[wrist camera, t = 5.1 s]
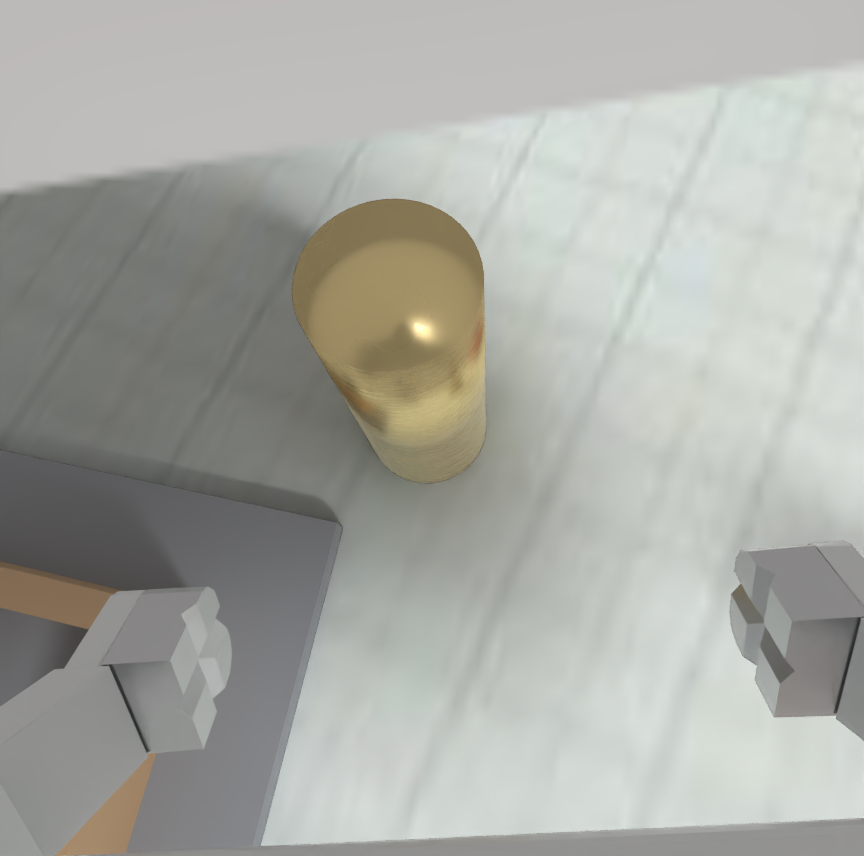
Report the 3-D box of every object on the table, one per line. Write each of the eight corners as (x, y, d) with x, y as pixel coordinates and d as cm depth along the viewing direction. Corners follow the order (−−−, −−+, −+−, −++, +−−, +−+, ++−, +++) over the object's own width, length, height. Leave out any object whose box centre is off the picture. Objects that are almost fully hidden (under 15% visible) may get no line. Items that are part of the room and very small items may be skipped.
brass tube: (495, 382, 24) (500, 212, 15) (473, 493, 23) (462, 387, 13) (385, 363, 25) (319, 187, 15) (358, 470, 24) (269, 353, 14)
